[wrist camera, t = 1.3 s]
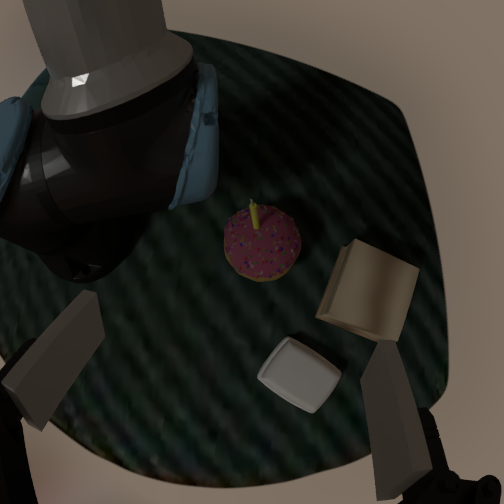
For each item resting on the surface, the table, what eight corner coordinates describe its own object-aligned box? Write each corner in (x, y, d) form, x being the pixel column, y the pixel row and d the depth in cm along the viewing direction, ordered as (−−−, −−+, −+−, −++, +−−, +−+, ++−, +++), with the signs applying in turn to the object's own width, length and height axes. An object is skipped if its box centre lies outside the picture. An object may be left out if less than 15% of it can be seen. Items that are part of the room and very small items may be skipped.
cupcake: (212, 245, 39) (197, 208, 27) (266, 206, 40) (272, 158, 28) (254, 300, 37) (256, 286, 25) (309, 258, 38) (333, 227, 27)
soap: (344, 371, 35) (351, 374, 32) (311, 415, 34) (316, 421, 31) (286, 331, 36) (289, 332, 34) (252, 377, 35) (252, 380, 32)
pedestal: (314, 317, 36) (324, 314, 32) (341, 246, 39) (353, 235, 34) (381, 343, 36) (398, 344, 31) (403, 275, 38) (421, 267, 33)
